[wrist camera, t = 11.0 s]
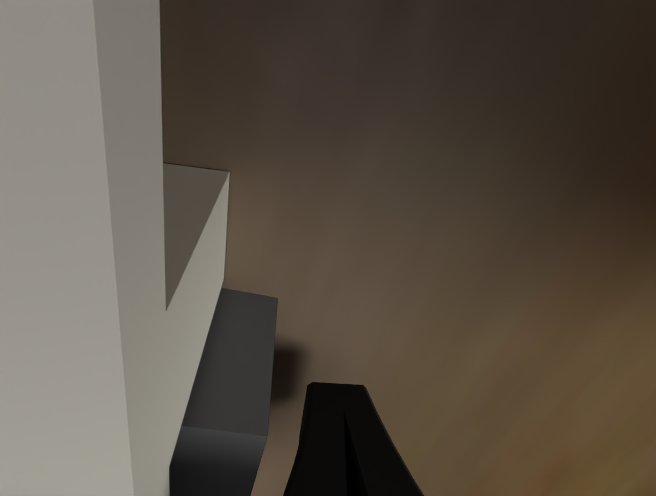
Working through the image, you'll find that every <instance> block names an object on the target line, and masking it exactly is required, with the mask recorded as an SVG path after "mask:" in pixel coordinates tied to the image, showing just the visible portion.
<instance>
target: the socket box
mask: <svg viewBox="0 0 656 496" xmlns="http://www.w3.org/2000/svg"><path fill="white" fill-rule="evenodd" d="M229 175H230V172H227V171H219V170H212V169H204V168H196V167H189V166H181V165H173V164H166V163H163V151H162V102H161V53H160V4H159V0H0V496H170V493H169V466H170V462H171V459H172V455H173V452H174V449H175V445H176V442H177V438H178V435H179V431H180V428H181V424H182V421H183V418H184V414H185V411H186V407H187V404H188V400H189V397H190V393H191V390H192V387H193V383H194V380H195V376H196V373H197V369H198V366H199V362H200V359H201V356H202V352H203V349H204V345H205V342H206V338H207V335H208V331H209V328H210V324H211V321H212V318H213V314H214V311H215V307H216V304H217V300H218V297H219V293H220V290H221V287H222V283H223V280H224V267H225V249H226V230H227V212H228V193H229Z"/></svg>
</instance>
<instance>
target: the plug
mask: <svg viewBox="0 0 656 496" xmlns="http://www.w3.org/2000/svg"><path fill="white" fill-rule="evenodd" d="M277 303H278V298H274V297H269V296H263V295H258V294H252V293H247V292H241V291H236V290H230V289H225V288H221V290H220V293H219V297H218V300H217V304H216V307H215V311H214V314H213V318H212V321H211V324H210V328H209V331H208V335H207V338H206V342H205V345H204V349H203V352H202V356H201V359H200V362H199V366H198V369H197V373H196V376H195V380H194V383H193V387H192V390H191V393H190V397H189V400H188V404H187V407H186V411H185V414H184V418H183V421H182V424H181V428H180V431H179V435H178V438H177V442H176V445H175V449H174V452H173V455H172V459H171V462H170V466H169V493H170V496H250V495H251V492H252V489H253V485H254V482H255V478H256V475H257V471H258V468H259V464H260V461H261V458H262V454H263V451H264V447H265V444H266V440H267V437H268V424H269V411H270V398H271V384H272V371H273V357H274V344H275V330H276V317H277Z"/></svg>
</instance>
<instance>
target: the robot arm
mask: <svg viewBox="0 0 656 496" xmlns="http://www.w3.org/2000/svg"><path fill="white" fill-rule="evenodd" d="M283 496H424V495H423V493H422V492H421V490H420V488H419V487H418V485H417V484H416V482H415V480H414V479H413V477H412V475H411V474H410V472H409V470H408V468H407V467H406V465H405V463H404V461H403V460H402V458H401V456H400V454H399V453H398V451H397V449H396V447H395V446H394V444H393V442H392V440H391V438H390V436H389V434H388V432H387V431H386V429H385V427H384V425H383V423H382V421H381V419H380V417H379V415H378V413H377V411H376V409H375V406H374V404H373V402H372V400H371V398H370V396H369V393H368V391H367V389H366V388H365V387H364V385H353V384H336V383H318V382H312V383H311V384H309V385H307V391H306V398H305V404H304V410H303V417H302V423H301V430H300V436H299V446H298V450H297V454H296V457H295V461H294V465H293V468H292V471H291V474H290V477H289V480H288V483H287V486H286V489H285V492H284V494H283Z"/></svg>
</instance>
